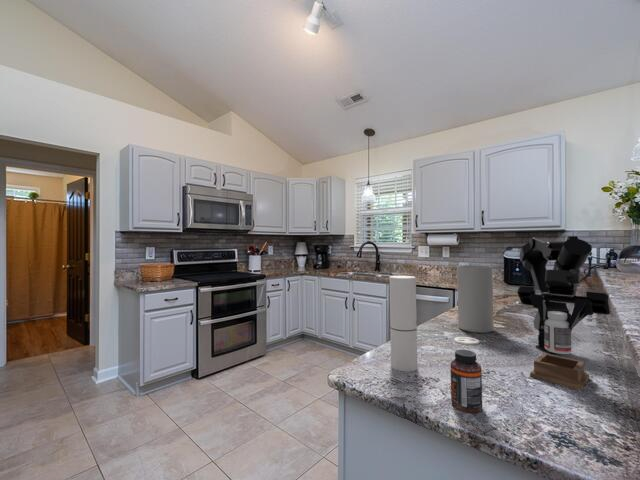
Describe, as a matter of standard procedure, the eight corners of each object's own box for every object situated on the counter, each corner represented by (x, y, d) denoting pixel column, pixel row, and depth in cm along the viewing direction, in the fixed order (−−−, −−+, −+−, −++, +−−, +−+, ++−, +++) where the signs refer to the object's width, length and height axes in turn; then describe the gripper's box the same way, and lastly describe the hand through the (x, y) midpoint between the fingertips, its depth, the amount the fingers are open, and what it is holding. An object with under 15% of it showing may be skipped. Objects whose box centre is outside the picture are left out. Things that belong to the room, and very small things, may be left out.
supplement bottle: (447, 398, 67) (446, 347, 67) (475, 399, 66) (474, 347, 67) (456, 413, 61) (455, 356, 61) (487, 415, 60) (486, 357, 61)
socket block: (541, 366, 84) (540, 351, 84) (589, 377, 76) (588, 361, 76) (530, 376, 77) (529, 361, 77) (581, 390, 70) (580, 373, 70)
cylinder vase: (451, 327, 124) (450, 266, 125) (472, 323, 130) (471, 264, 130) (478, 335, 113) (477, 268, 113) (500, 331, 118) (499, 266, 119)
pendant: (450, 339, 109) (450, 337, 109) (479, 338, 110) (479, 336, 110) (460, 346, 102) (460, 343, 102) (491, 344, 103) (491, 342, 103)
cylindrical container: (417, 363, 87) (416, 275, 88) (417, 373, 81) (415, 278, 81) (392, 360, 90) (390, 275, 90) (389, 369, 83) (388, 277, 83)
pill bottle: (574, 351, 76) (574, 313, 76) (566, 356, 74) (566, 316, 74) (549, 345, 81) (549, 309, 81) (540, 349, 78) (540, 311, 78)
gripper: (518, 257, 87) (505, 301, 80) (607, 259, 73) (602, 313, 66) (527, 282, 92) (516, 325, 85) (612, 288, 78) (608, 341, 71)
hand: (555, 325), depth 76 cm, fingers closed on pill bottle, 5 cm apart
